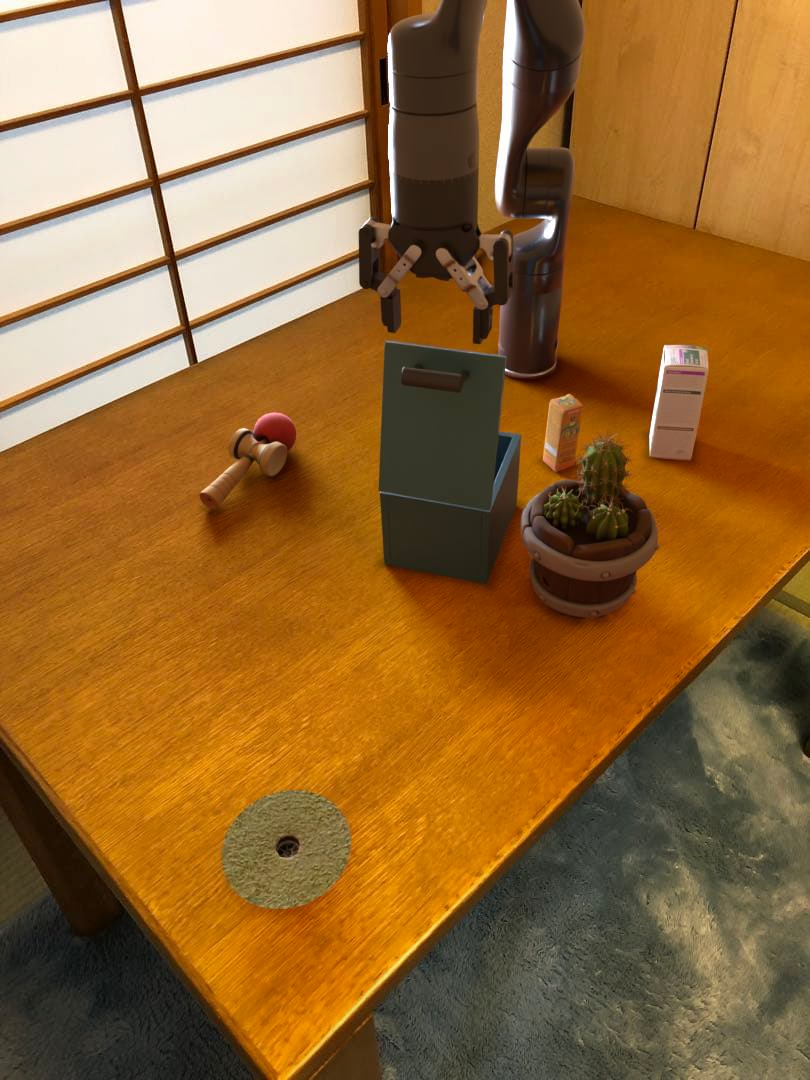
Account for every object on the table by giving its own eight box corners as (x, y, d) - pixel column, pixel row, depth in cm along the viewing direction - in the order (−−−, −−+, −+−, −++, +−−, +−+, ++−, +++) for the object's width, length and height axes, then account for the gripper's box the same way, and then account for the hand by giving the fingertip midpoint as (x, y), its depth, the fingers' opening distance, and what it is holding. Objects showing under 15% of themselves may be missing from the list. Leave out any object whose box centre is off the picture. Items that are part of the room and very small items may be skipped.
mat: (284, 947, 71) (281, 936, 70) (198, 863, 77) (194, 851, 76) (379, 851, 77) (378, 839, 76) (292, 779, 83) (290, 767, 82)
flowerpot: (619, 656, 94) (647, 510, 81) (492, 605, 100) (498, 462, 87) (665, 575, 103) (697, 433, 90) (546, 533, 109) (560, 395, 96)
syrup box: (691, 461, 120) (712, 367, 110) (647, 457, 121) (664, 364, 111) (690, 438, 124) (709, 345, 115) (647, 434, 125) (663, 342, 116)
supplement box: (556, 474, 119) (562, 410, 112) (542, 461, 121) (547, 398, 115) (576, 466, 120) (584, 403, 113) (562, 454, 122) (568, 391, 116)
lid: (387, 340, 92) (369, 351, 87) (506, 355, 88) (495, 368, 84) (380, 488, 99) (363, 506, 94) (491, 508, 96) (479, 527, 91)
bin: (422, 488, 117) (421, 419, 110) (516, 504, 114) (521, 434, 107) (384, 564, 106) (379, 493, 99) (487, 585, 103) (490, 512, 96)
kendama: (241, 526, 114) (315, 441, 124) (222, 490, 110) (300, 404, 120) (199, 517, 118) (273, 435, 128) (179, 481, 114) (258, 399, 124)
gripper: (527, 152, 74) (517, 326, 85) (370, 140, 78) (380, 308, 89) (506, 183, 69) (498, 364, 80) (338, 169, 73) (353, 343, 84)
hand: (436, 334), depth 84 cm, fingers open, 8 cm apart
